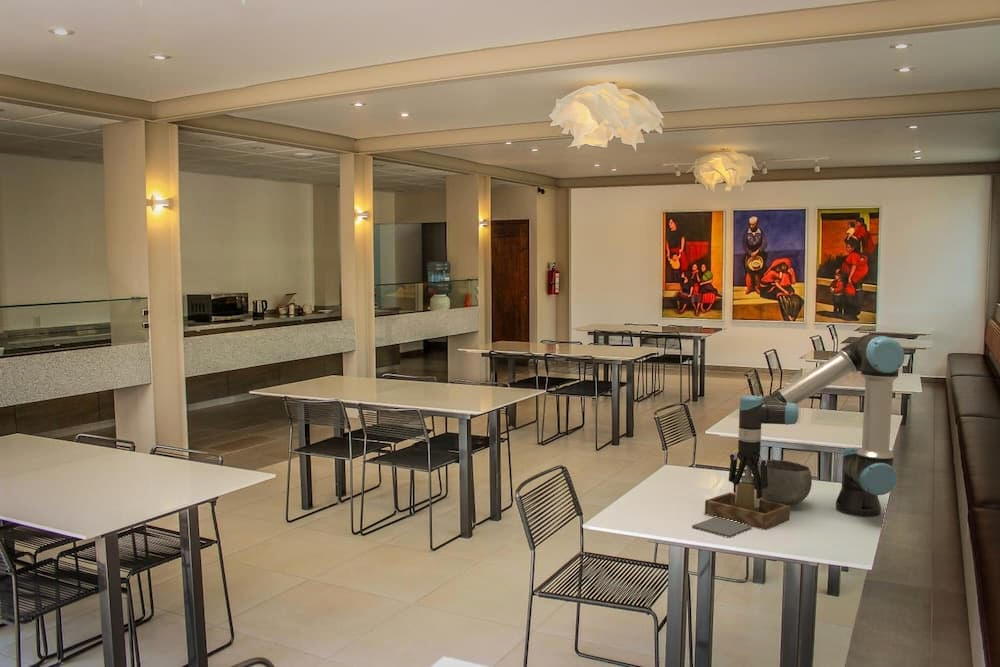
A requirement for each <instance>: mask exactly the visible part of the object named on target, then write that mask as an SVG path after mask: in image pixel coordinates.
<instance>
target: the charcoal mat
mask: <svg viewBox="0 0 1000 667" xmlns="http://www.w3.org/2000/svg"><path fill="white" fill-rule="evenodd" d="M692 527H693V528H692ZM691 528H692V529H695V528H697V529H696V530H698V529H701V530H700V531H702V530H704V531H703V532H706V531H709V532H712V533H711V534H713V533H716V534H715V535H717V534H720V535H723V536H722V537H724V536H727V537H726V538H728V537H730V538H732V537H731V536H733V537H735V536H737V535H736V534H738V535H740V534H742V533H741V532H743V533H745V532H748V531H750V530H752V526H749V525H745V524H741V523H737V522H733V521H729V520H725V519H721V518H717V517H712V518H709V519H705V520H703V521H701V522H698V523H696V524H693V525H691ZM749 529H750V530H749ZM747 530H748V531H747ZM744 531H745V532H744ZM709 532H708V533H709ZM739 533H740V534H739ZM720 535H719V536H720ZM734 535H735V536H734Z"/></svg>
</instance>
